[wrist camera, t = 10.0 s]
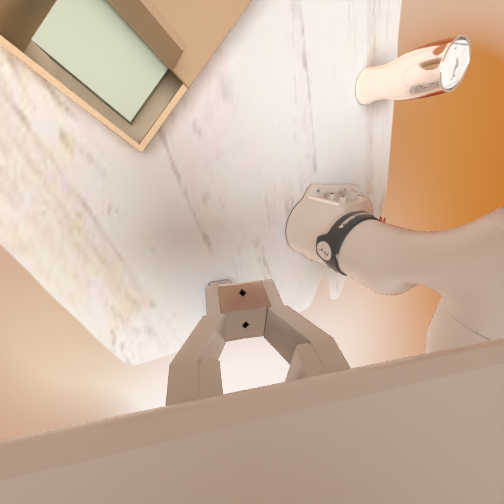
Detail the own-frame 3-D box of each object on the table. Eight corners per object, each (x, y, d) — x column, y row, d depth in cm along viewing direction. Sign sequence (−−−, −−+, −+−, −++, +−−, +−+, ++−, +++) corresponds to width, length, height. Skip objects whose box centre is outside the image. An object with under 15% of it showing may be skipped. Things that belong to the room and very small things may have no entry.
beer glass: (348, 100, 43) (432, 83, 31) (361, 57, 41) (458, 20, 28) (370, 112, 46) (453, 101, 34) (384, 72, 44) (478, 45, 32)
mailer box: (140, 151, 32) (141, 152, 25) (14, 54, 23) (-31, 20, 17) (224, 34, 30) (248, 4, 24) (123, -112, 22) (118, -215, 16)
